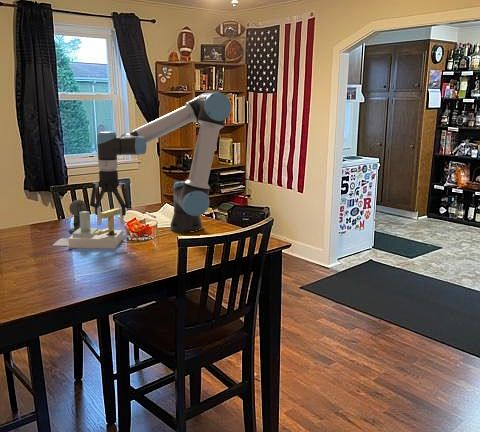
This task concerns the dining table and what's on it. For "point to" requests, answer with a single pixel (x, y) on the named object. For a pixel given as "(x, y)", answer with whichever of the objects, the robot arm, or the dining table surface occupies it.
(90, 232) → the cover
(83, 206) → the figurine
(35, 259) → the dining table surface
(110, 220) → the key
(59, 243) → the pad
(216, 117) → the robot arm
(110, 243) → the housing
